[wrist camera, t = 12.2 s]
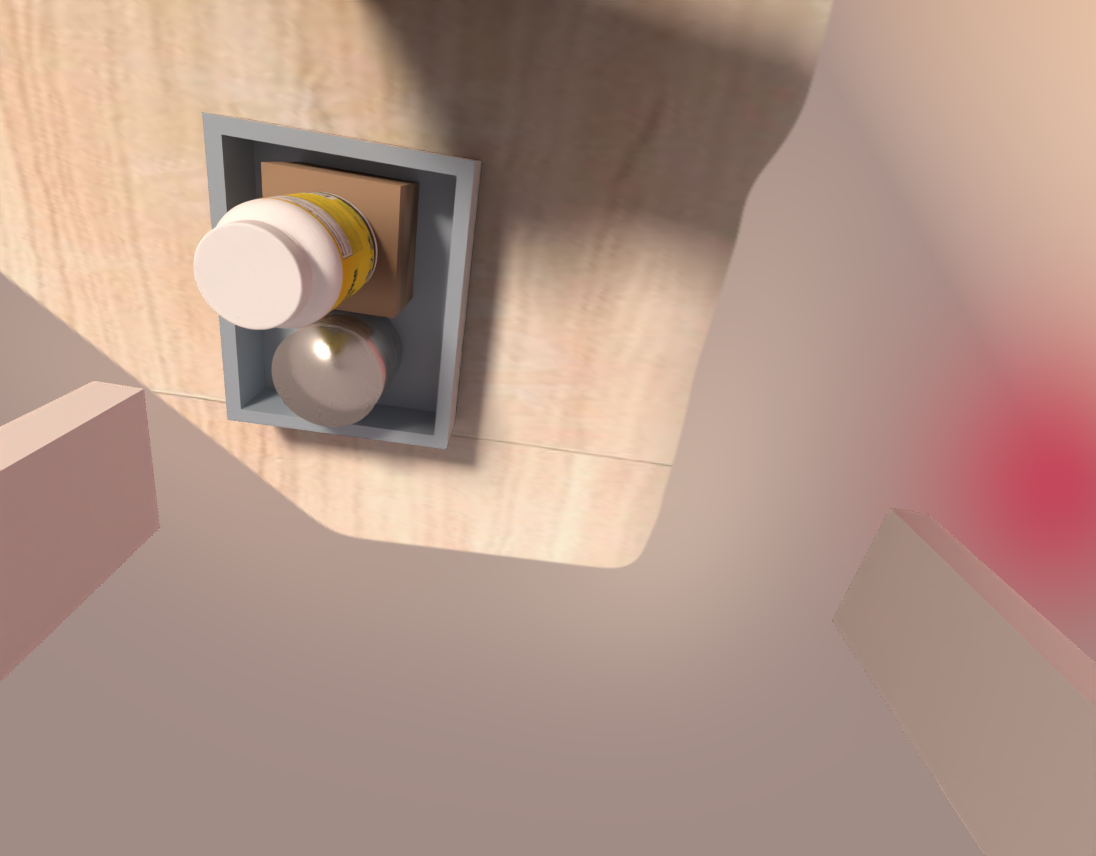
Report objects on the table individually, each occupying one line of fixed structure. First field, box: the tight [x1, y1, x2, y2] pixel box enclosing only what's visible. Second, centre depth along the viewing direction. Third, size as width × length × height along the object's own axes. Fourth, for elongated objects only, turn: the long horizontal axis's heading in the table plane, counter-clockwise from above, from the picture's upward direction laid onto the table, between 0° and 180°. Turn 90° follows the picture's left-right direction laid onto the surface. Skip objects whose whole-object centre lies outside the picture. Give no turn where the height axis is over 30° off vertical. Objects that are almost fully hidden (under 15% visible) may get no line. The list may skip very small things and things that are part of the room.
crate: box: [202, 112, 482, 449], centre depth 40 cm, size 20×16×5 cm
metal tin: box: [272, 309, 402, 427], centre depth 41 cm, size 7×7×7 cm
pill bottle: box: [193, 192, 378, 330], centre depth 30 cm, size 6×6×11 cm
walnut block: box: [261, 162, 420, 318], centre depth 38 cm, size 8×8×6 cm
